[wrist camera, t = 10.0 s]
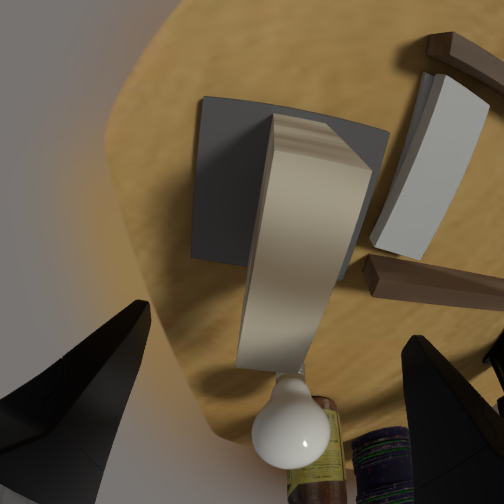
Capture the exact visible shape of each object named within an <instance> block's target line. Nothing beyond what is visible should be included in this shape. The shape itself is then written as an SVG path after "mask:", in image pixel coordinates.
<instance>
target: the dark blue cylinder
mask: <svg viewBox="0 0 504 504" xmlns="http://www.w3.org/2000/svg"><path fill="white" fill-rule="evenodd" d="M351 446H352V450H353V454H352V455H353V458H352V462H353V466H354V474H355V476H356V482H357V497H356V503H357V504H414V499H413V491H414V490H413V474H412V459H411V448H410V437H409V430H408V428H406V427H401V426H395V427H387V428H382V429H379V430H375V431H372V432H369V433H367V434H364V435H362V436H360V437H359V438H357V439H356V440H354V441H353V442H352V445H351Z"/></svg>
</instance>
